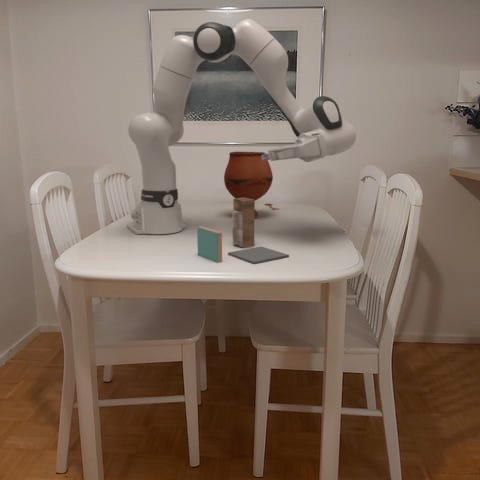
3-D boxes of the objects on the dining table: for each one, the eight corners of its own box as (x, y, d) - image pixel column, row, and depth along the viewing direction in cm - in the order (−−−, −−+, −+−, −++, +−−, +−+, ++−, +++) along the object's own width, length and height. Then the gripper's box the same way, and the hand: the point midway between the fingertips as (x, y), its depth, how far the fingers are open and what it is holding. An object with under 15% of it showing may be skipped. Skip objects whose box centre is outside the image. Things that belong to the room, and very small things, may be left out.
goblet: (256, 222, 182) (257, 154, 176) (214, 217, 192) (213, 152, 186) (280, 214, 198) (281, 151, 192) (239, 210, 208) (239, 150, 202)
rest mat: (227, 254, 137) (227, 252, 137) (261, 248, 144) (261, 246, 144) (254, 264, 128) (254, 262, 128) (288, 257, 135) (288, 254, 135)
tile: (197, 254, 138) (197, 226, 136) (202, 254, 138) (201, 226, 137) (217, 262, 130) (217, 233, 128) (222, 261, 131) (221, 232, 129)
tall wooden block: (232, 245, 148) (231, 198, 145) (244, 243, 151) (244, 197, 148) (241, 248, 144) (241, 201, 141) (254, 246, 147) (254, 199, 144)
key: (282, 211, 209) (276, 205, 224) (282, 209, 209) (276, 203, 224) (269, 210, 209) (263, 204, 223) (269, 208, 209) (264, 202, 223)
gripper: (289, 139, 159) (252, 149, 154) (325, 133, 140) (284, 143, 135) (293, 158, 160) (256, 169, 155) (330, 154, 142) (289, 166, 136)
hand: (269, 157), depth 145 cm, fingers open, 8 cm apart
